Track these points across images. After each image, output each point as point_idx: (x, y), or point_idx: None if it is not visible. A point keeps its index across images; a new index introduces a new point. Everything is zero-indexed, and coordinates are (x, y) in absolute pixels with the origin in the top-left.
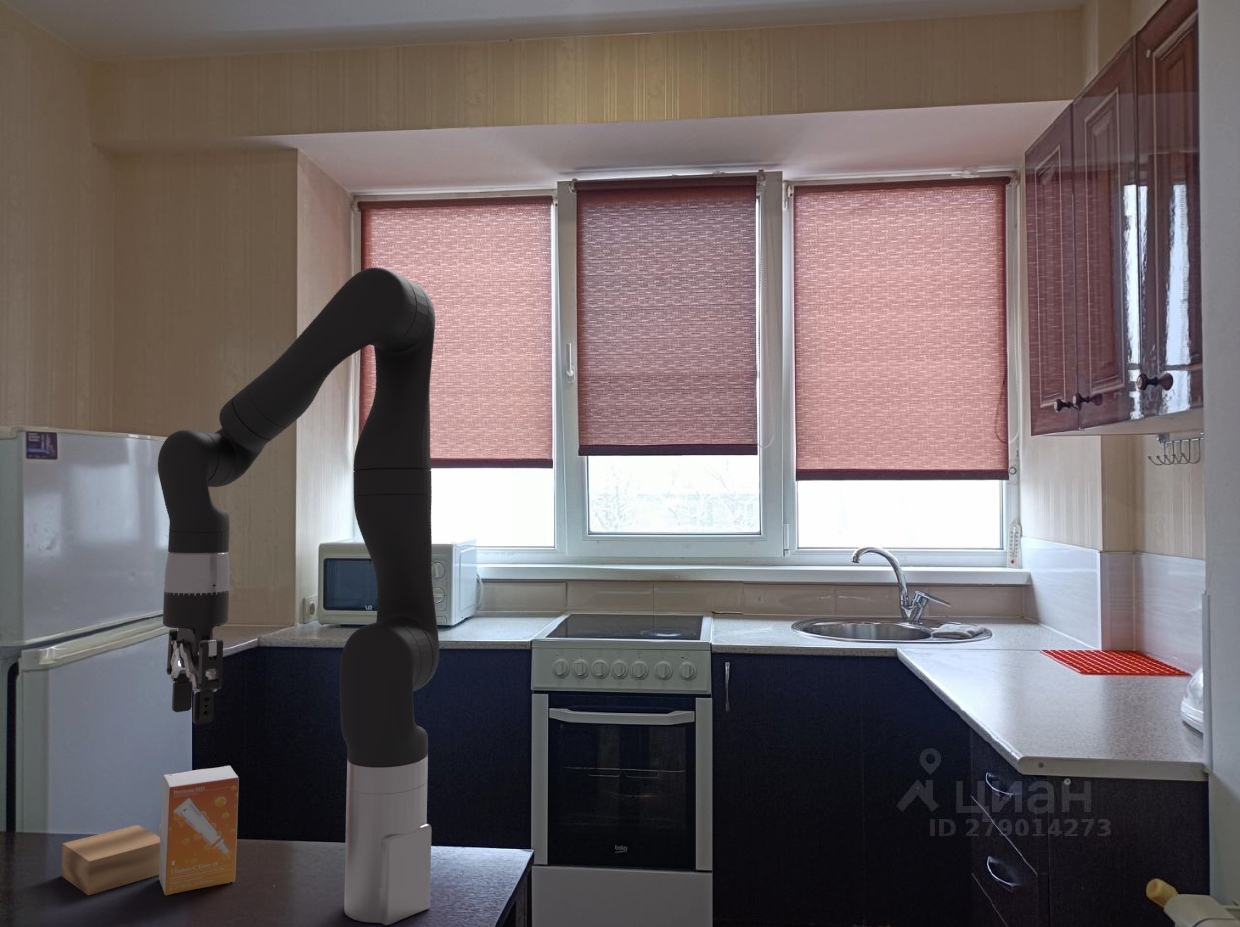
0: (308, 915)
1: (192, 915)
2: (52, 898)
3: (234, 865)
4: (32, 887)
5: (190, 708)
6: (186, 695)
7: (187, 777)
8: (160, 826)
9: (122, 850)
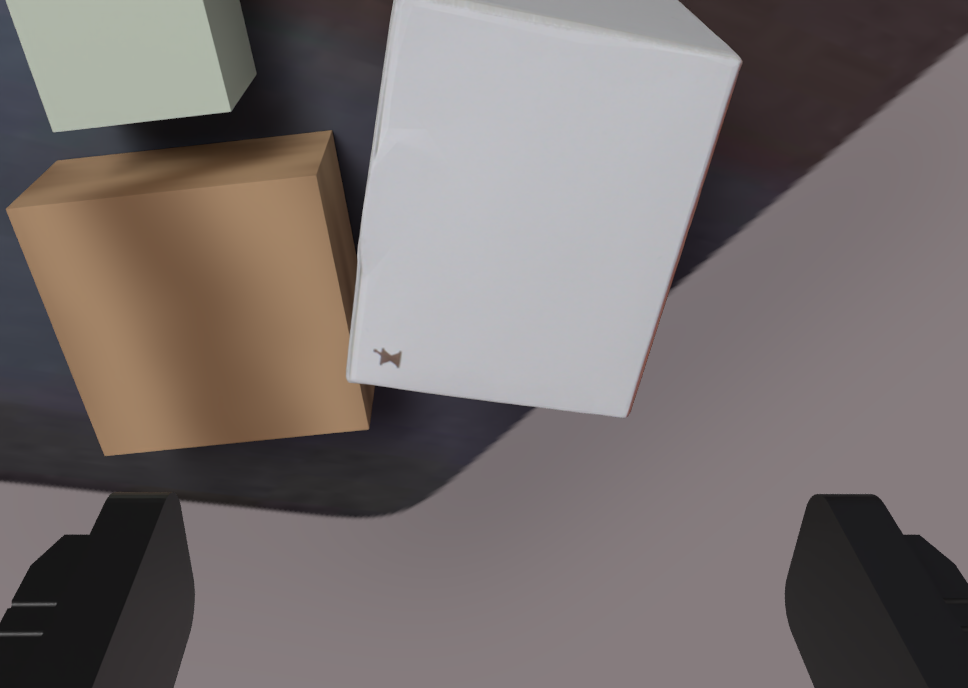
0: None
1: (786, 174)
2: (329, 436)
3: None
4: (197, 459)
5: (170, 497)
6: (138, 647)
7: (524, 309)
8: (67, 130)
9: (325, 329)
